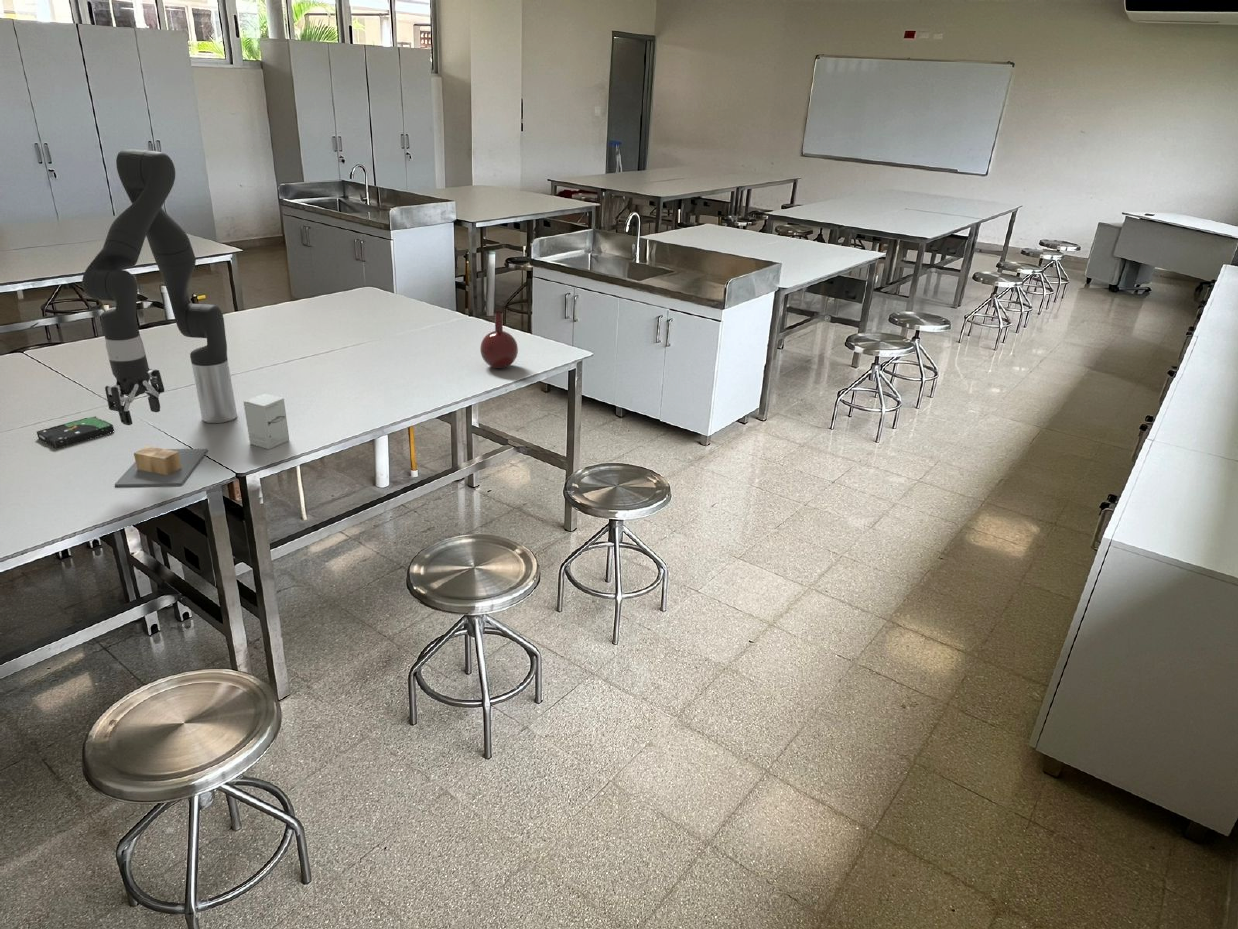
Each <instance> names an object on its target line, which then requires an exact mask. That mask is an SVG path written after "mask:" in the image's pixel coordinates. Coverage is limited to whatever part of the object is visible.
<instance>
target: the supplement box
mask: <svg viewBox="0 0 1238 929" xmlns="http://www.w3.org/2000/svg"><path fill="white" fill-rule="evenodd" d="M243 406H244V408H243V409H244V413H245V414H244V415H245V419H246V420H245V421H246V427H247V434H248V440H249V444H250V445H254V446H257V447H260V448H263V449H266V450H270V449H273V448H274V447H276V446H278V445H281V444H284V443H286V442H288V441H289V440H290V433H289V428H288V427H289V426H288V420H287V413H286V405H285V398H284V397H281V396H276V395H272V394H269V393H262V394H260V395H257V396H254V397H252V398H248V399H246V400H243Z"/></svg>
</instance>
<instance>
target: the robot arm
mask: <svg viewBox="0 0 1238 929" xmlns="http://www.w3.org/2000/svg"><path fill="white" fill-rule="evenodd" d="M115 162H116V165H115V166H116V171H117V174H118V177H119V180H120V182H121V185H122V187H123V188H124V191H125V192H126V195H127V197H128V198H129V201H130V202H131V204H130V205H129V206H128V207H127V208H126V209H125V210H124V211H122V212H121V213H120V214H119V215H118V216H117V217H116V218H115V219H114V221H113V222H112V223H111V226H110V227H109V229H108V232H107V236H106V237H105V241H104V244H103V247H102V248H101V250H100V251H99V252H98V253H97V254H96V256H95V257H94V258H93V260H92V261H91V262H90V263H89V265H87V268H86V269H85V271H84V272H83V276H82V279H81V280H82V282H81V284H82V290H83V291H84V293H85V294H86V296H87V297H89V298H90V299H93V300H97V301H110V302H115V308H113V309H112V308H111V309H108V310H105V311H103V312H102V313H100V314H101V315H100V317H99V318H100V323H101V327H102V332H103V335H104V336H103V337H104V340H105V348H106V352H107V356H108V361H109V364H110V368H111V373H112V375H113V377H115V380H116V383H115V384H114V385H106V386H105V387H104V391H105V395H106V399H107V406H108V410H110V411H115V412H118V414H119V419H120V423H122V424H123V425H125V426H132V425H133V420H132V415H131V412H130V409H129V408H130V406H131V403H133V402H134V400H135V398H137V397H138V396H140V395H144V394H145V395H147V396H148V397H147V400H148V404H149V409H150V412H153V413H159V412H161V403H160V399H159V397H160V394H163V393H165V387H164V383H163V379H162V376H161V372H160V370H159V369H155V368H150V366H149V363H148V359H147V354H146V350H145V345H144V342H143V339H142V337H141V334H140V329H139V325H138V321H137V305H138V304H137V303H138V294H139V287H138V282H137V280H136V278H135V277H134V275H133V274H132V273H131V272H130V271H127V270H124V269H129V268H130V269H131V268H132V267H135V265H136V264H137V263H138V261H139V259H140V258H139V257H140V256H141V251H142V250H143V246H144V242H145V239H146V240H147V242H148V244H149V247H150V251H151V254H152V255H153V258H154V261H155V263H156V266H157V268H158V270H159V273H160V274H161V278H162V280H163V283H164V286H165V288H166V289H165V290H166V291H167V294H168V298H169V302H170V306H171V310H172V313H173V317H174V320H175V323H176V326H177V329H178V330H179V332H180V333H181V335H183V337H186V338H194V339H206V345H204V346H200V347H197V348H196V349H193V350H192V351H191V352H190V353H189V358H190V362H191V368H192V374H193V377H194V378H193V379H194V383H195V389H196V394H197V398H198V404H199V409H200V410H199V411H200V415H201V420H202V421H203V422H204V423H207V424H221V423H222V424H223V423H226V422H231V421H233V420H234V419H236V418H238V413H237V405H236V400H235V394H234V389H233V388H234V387H233V383H232V376H231V372H230V366H229V360H228V345H227V344H228V342H227V337H226V336H227V335H226V326H225V319H224V314H223V312H222V310H221V308H220V307H219V306H218V305H216V304H209V303H208V304H207V303H205V304H204V303H193V302H192V301H191V299H190V296H189V292H188V286H189V283H190V281H191V279H192V276H193V274H194V271H195V268H196V265H197V264H196V263H197V260H196V256H195V253H194V249H193V246H192V244H191V241H190V238H189V235H187V233H186V231H185V230H184V229H183V228H182V227H181V225H179V224H178V223H177V222H176V221H175V220H174V219H173V218H172V217H171V216H170V215H169V214H168V213H167V212H166V211H165V210H164V209H163V208H162V207H163V205H164V203H165V201H167V198H168V196H169V194H170V193H171V191H172V188H173V187H174V184H175V181H176V168H175V165H174V162H173V160H172V159H171V157H170V156H169V155H168V154H166V153H165V152H161V151H155V150H146V149H145V150H144V149H133V148H132V149H130V148H129V149H122V150H120V151H119V152H118V154H117V155H116V158H115ZM149 382H150V383H149ZM125 396H126V397H125Z"/></svg>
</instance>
